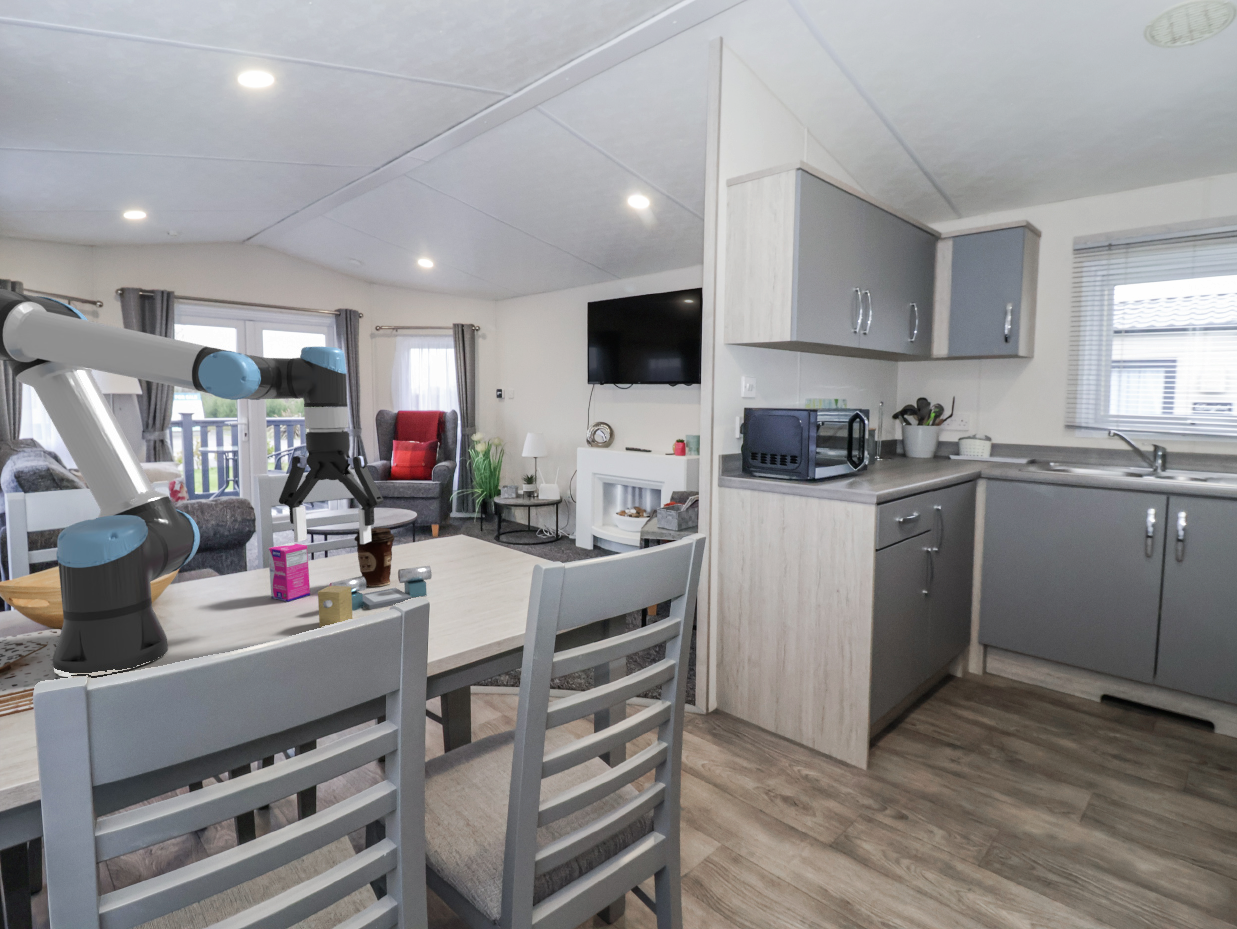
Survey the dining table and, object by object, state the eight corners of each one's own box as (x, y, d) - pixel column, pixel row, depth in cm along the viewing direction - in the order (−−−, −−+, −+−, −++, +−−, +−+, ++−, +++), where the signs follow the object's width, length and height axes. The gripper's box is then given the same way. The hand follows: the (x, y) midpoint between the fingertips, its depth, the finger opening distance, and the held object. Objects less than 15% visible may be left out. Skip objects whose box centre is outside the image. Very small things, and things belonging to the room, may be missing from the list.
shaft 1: (339, 613, 133) (338, 584, 132) (327, 609, 136) (326, 580, 135) (369, 606, 138) (368, 578, 137) (357, 601, 141) (356, 574, 140)
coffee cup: (369, 591, 149) (366, 534, 147) (349, 585, 154) (346, 530, 152) (402, 582, 155) (400, 528, 154) (382, 577, 160) (380, 524, 159)
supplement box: (269, 598, 143) (267, 547, 142) (294, 591, 148) (291, 542, 147) (287, 602, 141) (284, 550, 139) (311, 595, 146) (308, 544, 145)
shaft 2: (402, 599, 142) (401, 572, 142) (397, 593, 147) (396, 567, 146) (433, 594, 146) (432, 568, 145) (427, 589, 150) (426, 563, 149)
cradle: (369, 609, 135) (369, 604, 135) (354, 599, 142) (354, 595, 142) (411, 601, 141) (411, 596, 141) (395, 592, 148) (395, 587, 148)
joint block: (338, 630, 124) (336, 593, 123) (317, 628, 124) (315, 592, 124) (355, 620, 129) (353, 585, 128) (334, 619, 130) (332, 584, 129)
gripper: (399, 429, 125) (403, 539, 127) (281, 429, 129) (287, 535, 131) (378, 431, 117) (383, 547, 119) (253, 431, 122) (260, 543, 124)
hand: (333, 541), depth 125 cm, fingers open, 13 cm apart
